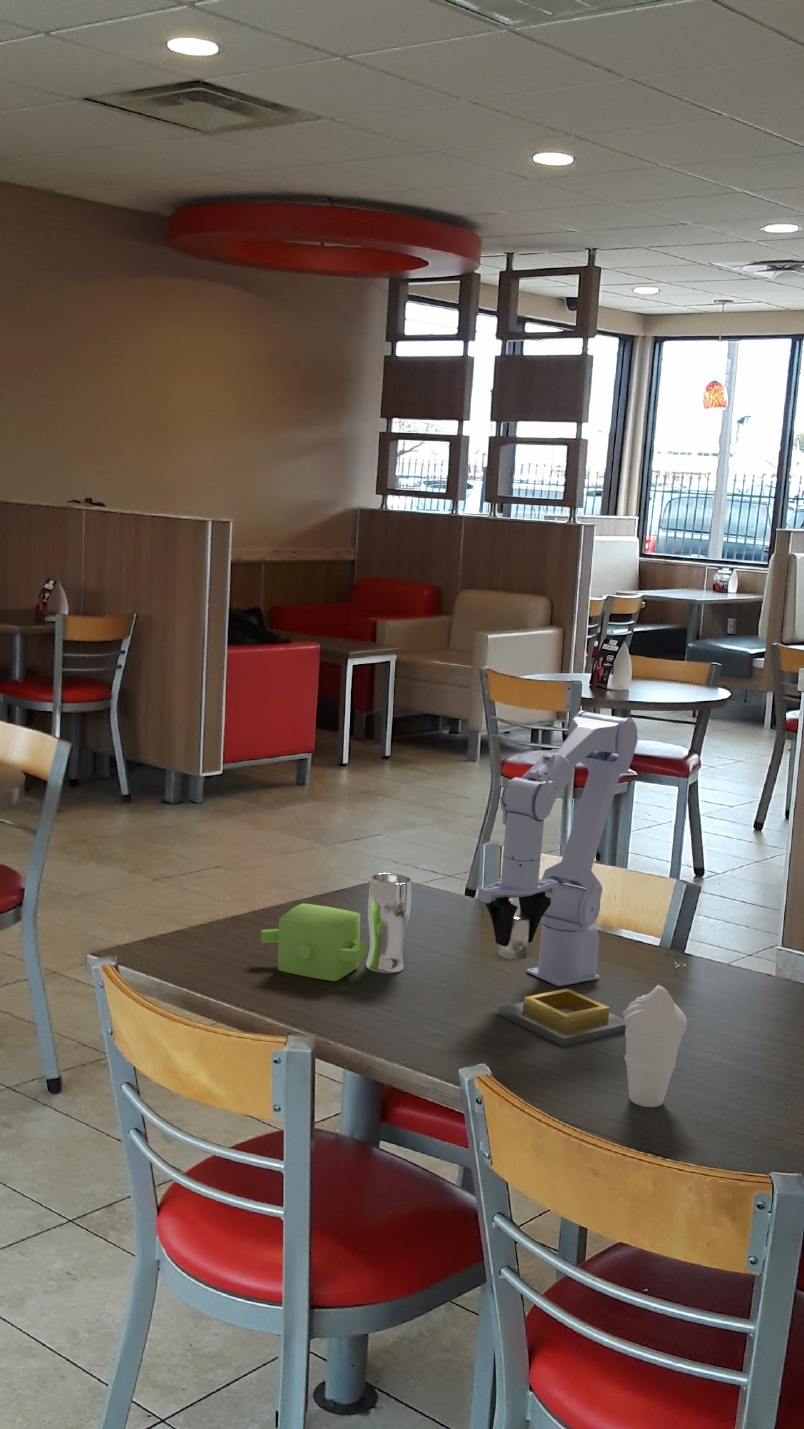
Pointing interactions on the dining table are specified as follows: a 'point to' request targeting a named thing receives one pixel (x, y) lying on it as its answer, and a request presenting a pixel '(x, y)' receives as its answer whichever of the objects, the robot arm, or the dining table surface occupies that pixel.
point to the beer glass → (388, 921)
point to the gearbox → (318, 941)
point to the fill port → (564, 1017)
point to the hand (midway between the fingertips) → (514, 942)
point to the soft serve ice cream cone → (652, 1045)
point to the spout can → (517, 938)
